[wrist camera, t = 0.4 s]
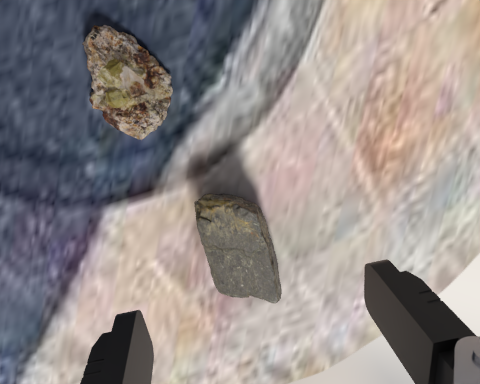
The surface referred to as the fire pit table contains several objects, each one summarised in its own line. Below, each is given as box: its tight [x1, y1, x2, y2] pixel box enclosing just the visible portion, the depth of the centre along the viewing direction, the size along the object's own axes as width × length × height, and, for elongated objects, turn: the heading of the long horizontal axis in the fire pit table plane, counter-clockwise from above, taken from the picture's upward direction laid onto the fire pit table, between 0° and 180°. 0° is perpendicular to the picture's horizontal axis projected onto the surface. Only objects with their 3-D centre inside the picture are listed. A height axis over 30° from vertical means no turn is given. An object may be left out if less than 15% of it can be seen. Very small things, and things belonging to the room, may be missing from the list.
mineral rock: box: [83, 25, 173, 139], centre depth 33 cm, size 11×4×8 cm
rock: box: [195, 194, 281, 303], centre depth 39 cm, size 17×7×10 cm
